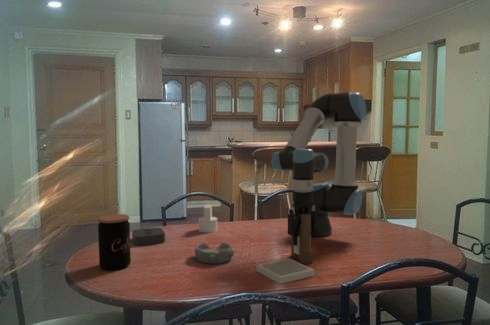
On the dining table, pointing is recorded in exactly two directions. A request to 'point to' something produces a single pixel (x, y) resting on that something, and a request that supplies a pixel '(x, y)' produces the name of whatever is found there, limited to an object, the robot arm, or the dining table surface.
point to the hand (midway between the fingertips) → (302, 252)
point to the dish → (213, 253)
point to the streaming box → (148, 236)
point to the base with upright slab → (208, 221)
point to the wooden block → (303, 240)
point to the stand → (285, 270)
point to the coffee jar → (114, 242)
